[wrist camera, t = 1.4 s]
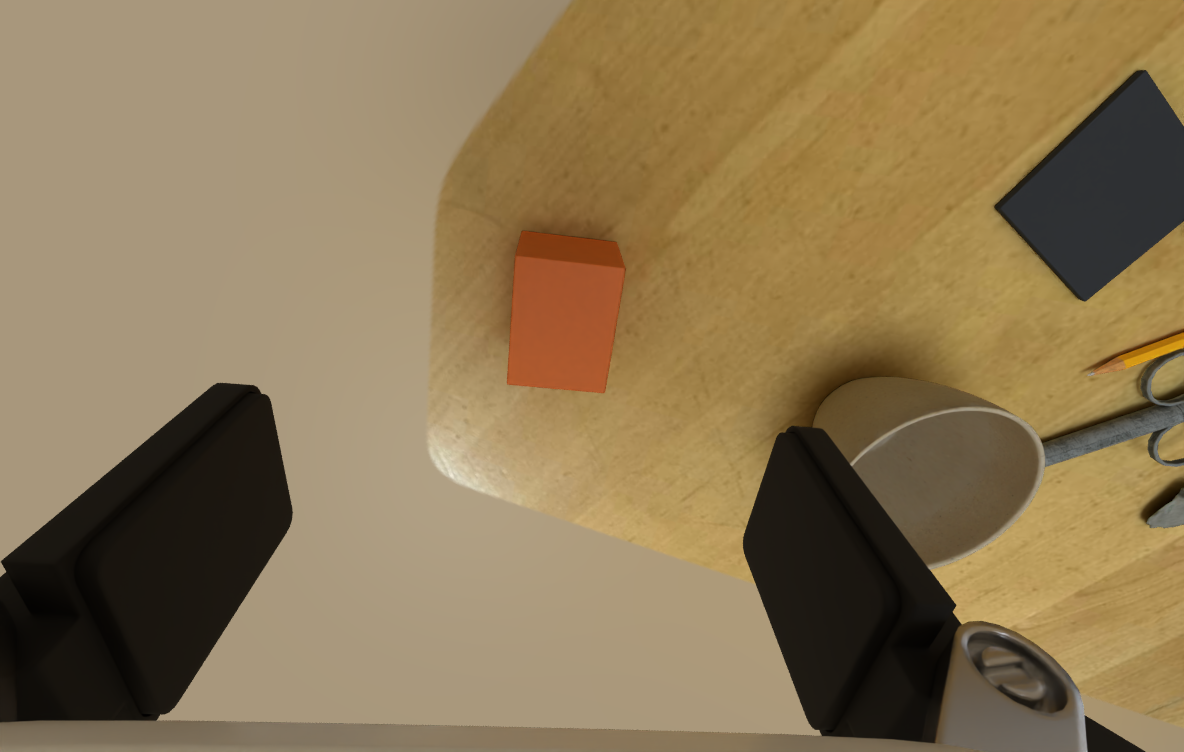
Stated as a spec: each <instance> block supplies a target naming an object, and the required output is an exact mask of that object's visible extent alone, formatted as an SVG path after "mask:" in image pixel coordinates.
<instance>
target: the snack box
mask: <svg viewBox="0 0 1184 752" xmlns="http://www.w3.org/2000/svg"><path fill="white" fill-rule="evenodd" d="M625 271H626V268H625V265H624V262H623V259H622V256H621V253H620V250H619V247H618V244H617V242H612V241H604V240H595V239H587V238H579V237H570V236H562V235H554V234H545V233H537V232H529V231H522V232H521V236H520V239H519V243H518V247H517V251H516V255H515V264H514V279H513V295H512V311H511V326H510V342H509V358H508V373H507V384H508V385H519V386H530V387H541V388H552V389H564V390H575V391H586V392H597V393H605V390H606V384H607V378H608V372H609V366H610V360H611V354H612V348H613V342H614V336H615V330H616V324H617V318H618V312H619V307H620V301H621V295H622V289H623V283H624V277H625Z"/></svg>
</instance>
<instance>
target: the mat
mask: <svg viewBox="0 0 1184 752" xmlns="http://www.w3.org/2000/svg"><path fill="white" fill-rule="evenodd" d="M995 208H996V209H997V210H998V211H999V213H1000V214H1001V215H1002V216H1003V217H1004V218H1005V219H1006V220H1007V221H1008V222H1009V223H1010V225H1011V226H1012V227H1013V228H1014V229H1015V230H1016V231H1017V232H1018V233H1019V234H1020V235H1021V236H1022V238H1023V239H1024V240H1025V241H1026V242H1027V243H1028V244H1029V245H1030V246H1031V247H1032V248H1033V250H1034V251H1035V252H1036V253H1037V254H1038V255H1039V256H1040V257H1041V258H1042V259H1043V260H1044V262H1045V263H1046V264H1047V265H1048V266H1049V267H1050V268H1051V269H1052V270H1053V271H1054V272H1055V274H1056V275H1057V276H1058V277H1059V278H1060V279H1061V280H1062V281H1063V282H1064V283H1065V284H1066V286H1067V287H1068V288H1069V289H1070V290H1071V291H1072V292H1073V293H1074V294H1075V295H1076V296H1077V298H1078V299H1080V300H1082V301H1087V300H1088V299H1089V298H1090V297H1092V296H1093V295H1094V294H1095V293H1096V292H1098V291H1099V290H1100V289H1101V288H1103V287H1104V286H1105V285H1106V284H1107V283H1109V282H1110V281H1111V280H1112V279H1114V278H1115V277H1116V276H1117V275H1118V274H1120V273H1121V272H1122V271H1123V270H1125V269H1126V268H1127V267H1128V266H1129V265H1131V264H1132V263H1133V262H1134V261H1136V260H1137V259H1138V258H1139V257H1140V256H1142V255H1143V254H1144V253H1145V252H1147V251H1148V250H1149V249H1150V248H1151V247H1153V246H1154V245H1155V244H1156V243H1158V242H1159V241H1160V240H1161V239H1162V238H1164V237H1165V236H1166V235H1167V234H1169V233H1170V232H1171V231H1172V230H1173V229H1175V228H1176V227H1177V226H1178V225H1180V224H1181V223H1182V222H1183V221H1184V126H1183V125H1182V123H1181V122H1180V120H1179V119H1178V117H1177V116H1176V114H1175V113H1174V111H1173V110H1172V108H1171V107H1170V105H1169V104H1168V102H1167V101H1166V99H1165V98H1164V96H1163V95H1162V93H1161V92H1160V90H1159V89H1158V87H1157V86H1156V84H1155V83H1154V81H1153V80H1152V78H1151V77H1150V75H1149V74H1148V72H1147V71H1146V70H1138V71H1137V72H1136V73H1135V74H1133V75H1132V76H1131V77H1130V78H1129V79H1128V80H1127V81H1126V82H1125V83H1124V84H1123V85H1122V86H1121V87H1120V88H1119V89H1118V90H1117V91H1116V92H1115V93H1113V94H1112V95H1111V96H1110V97H1109V98H1108V99H1107V100H1106V101H1105V102H1104V103H1103V104H1102V105H1101V106H1100V107H1099V108H1098V109H1097V110H1096V111H1095V112H1094V113H1092V114H1091V115H1090V116H1089V117H1088V118H1087V119H1086V120H1085V121H1084V122H1083V123H1082V124H1081V125H1080V126H1079V127H1078V128H1077V129H1076V130H1075V131H1074V132H1073V133H1071V134H1070V135H1069V136H1068V137H1067V138H1066V139H1065V140H1064V141H1063V142H1062V143H1061V144H1060V145H1059V146H1058V147H1057V148H1056V149H1055V150H1054V151H1053V152H1052V153H1050V154H1049V155H1048V156H1047V157H1046V158H1045V159H1044V160H1043V161H1042V162H1041V163H1040V164H1039V165H1038V166H1037V167H1036V168H1035V169H1034V170H1033V171H1032V172H1031V173H1029V174H1028V175H1027V176H1026V177H1025V178H1024V179H1023V180H1022V181H1021V182H1020V183H1019V184H1018V185H1017V186H1016V187H1015V188H1014V189H1013V190H1012V191H1011V192H1009V193H1008V194H1007V195H1006V196H1005V197H1004V198H1003V199H1002V200H1001V201H1000V202H999V203H998V204H997V205H996V206H995Z"/></svg>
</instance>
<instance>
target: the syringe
mask: <svg viewBox="0 0 1184 752" xmlns="http://www.w3.org/2000/svg"><path fill="white" fill-rule="evenodd" d="M1181 355H1184V350H1176V351H1173V352H1170V353H1168V354H1165V355H1163V356H1161V357H1159V358H1158V359H1157V360H1156V361H1155V362H1153V363H1152V364H1151V365H1150V366H1149V367H1148V368H1147V369H1146V371H1145V373H1144V374H1143V376H1142V378H1141V391H1142V394H1143V396H1144V397H1145V398H1146V399H1148V400H1149V401H1150V402H1152V403H1155V404H1157V405H1154V406H1151V407H1148V408H1145V409H1142V410H1139V411H1136V412H1133V413H1130V414H1127V415H1124V416H1121V417H1118V418H1115V419H1112V420H1109V421H1106V422H1103V423H1101V424H1098V425H1095V426H1092V427H1089V428H1086V429H1083V430H1080V431H1077V432H1074V433H1071V434H1068V435H1065V436H1062V437H1059V438H1056V439H1053V440H1050V441H1047V442H1044V443H1042V445H1043V448H1044V454H1045V467H1046V466H1050V465H1053V464H1056V463H1059V462H1062V461H1066V460H1069V459H1072V458H1075V457H1078V456H1081V455H1084V454H1087V453H1090V452H1093V451H1096V450H1099V449H1102V448H1106V447H1109V446H1112V445H1115V444H1118V443H1121V442H1124V441H1127V440H1130V439H1133V438H1136V437H1139V436H1142V435H1145V434H1149V433H1152V432H1153V433H1152V435H1151V437H1150V438H1149V440H1148V452H1149V455H1150V457H1151V458H1153V459H1154V460H1156V461H1157V462H1159V463H1160V464H1162V465H1165V466H1175V467H1177V466H1182V465H1184V458H1182V459H1177V460H1173V461H1167V460H1161V459H1160V458H1159V455H1158V452H1157V450H1158V443H1159V441H1160V439H1161V438H1162V436H1163V434H1165V433H1166V432H1167V431H1168V430H1170V429H1171V428H1172V427H1173V426H1175V425H1177V424H1180V423H1182V422H1184V394H1182V395H1180V396H1178V397H1175V398H1173V399H1170V400H1166V401H1163V400H1156V399H1155V398H1154V397H1153V395H1152V392H1151V381H1152V379H1153V377H1154V375H1155V373H1156V372H1157V370H1158V369H1160V368H1161V367H1162V366H1163V365H1164V364H1166V363H1167V362H1168V361H1170V360H1172V359H1174V358H1177V357H1179V356H1181Z"/></svg>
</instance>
